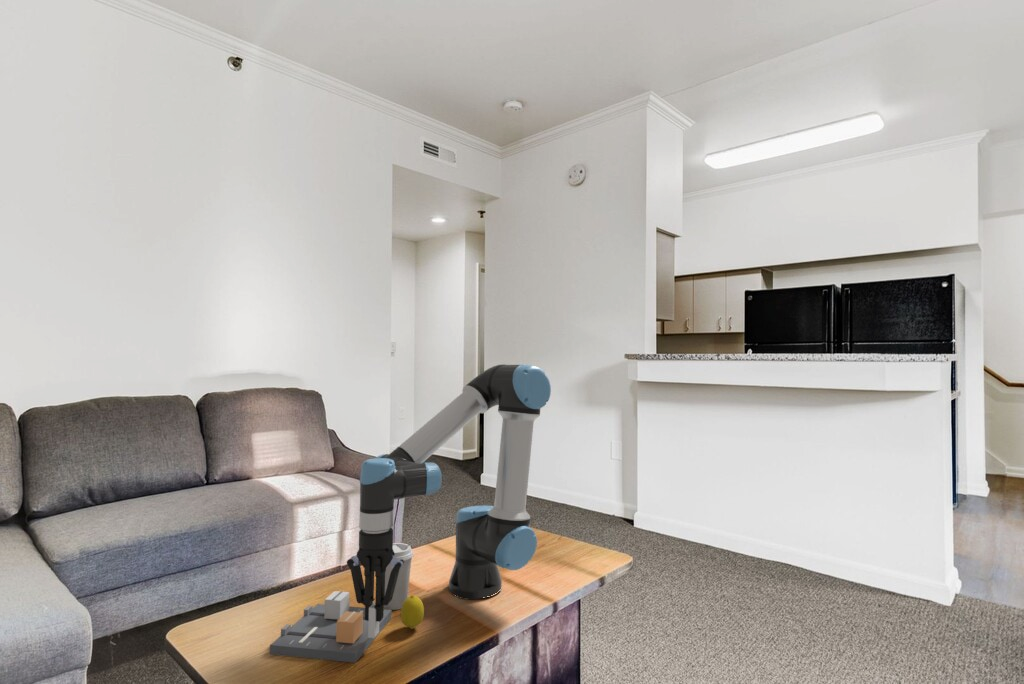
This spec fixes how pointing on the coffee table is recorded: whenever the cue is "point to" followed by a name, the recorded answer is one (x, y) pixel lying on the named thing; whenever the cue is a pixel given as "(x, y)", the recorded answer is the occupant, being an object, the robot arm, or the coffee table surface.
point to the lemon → (412, 612)
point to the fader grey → (336, 605)
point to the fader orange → (349, 627)
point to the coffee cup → (400, 576)
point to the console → (322, 637)
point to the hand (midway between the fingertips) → (373, 634)
